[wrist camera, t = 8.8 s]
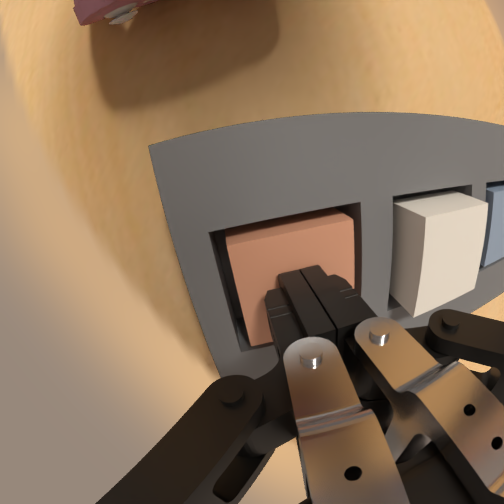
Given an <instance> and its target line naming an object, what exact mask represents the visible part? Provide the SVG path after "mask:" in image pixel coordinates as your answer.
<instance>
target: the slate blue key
mask: <svg viewBox="0 0 504 504" xmlns="http://www.w3.org/2000/svg"><path fill="white" fill-rule="evenodd" d="M485 202H486V203H488V213H487V222H486V230H485V238H484V244H483V250H482V256H481V261H480V265H482V266H483V267H485V266H487V265H489V264H491V263H493V262H495V261H497V260H498V259H500V258H502V257H504V181H495V182H486V200H485Z"/></svg>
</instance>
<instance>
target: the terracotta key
mask: <svg viewBox="0 0 504 504" xmlns="http://www.w3.org/2000/svg"><path fill="white" fill-rule="evenodd" d="M225 237H226V245H227V250H228V254H229V258H230V262H231V267H232V271H233V275H234V279H235V284H236V288H237V292H238V296H239V300H240V304H241V308H242V312H243V316H244V320H245V324H246V328H247V332H248V336H249V340H250V344H251V346H255V345H260V344H264V343H269V342H273V340H272V336H271V333H270V328H269V323H268V318H267V312H266V307H265V302H264V299H265V296H266V293H267V290H272V289H276V288H280V287H279V281H278V274H280V273H284V272H289V271H293V270H297V269H298V270H299V269H301V268H306V267H310V266H314V265H319V266H320V267H321V268H322V269H323V271H324V272H325V273H326V274H327V276H329V275H333V274H336V275H338V276H340V277H342V278H344V279H346V280H347V281H348V283H349V284H350V285H351V286H352V288H353V289H354V225H353V219H352V218H350V217H349V216H347V215H345V214H344V213H342V212H340V211H339V210H337V209H335V208H334V207H329V208H324V209H318V210H313V211H308V212H303V213H298V214H293V215H288V216H283V217H278V218H273V219H268V220H263V221H258V222H253V223H249V224H244V225H239V226H235V227H230V228H225Z"/></svg>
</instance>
